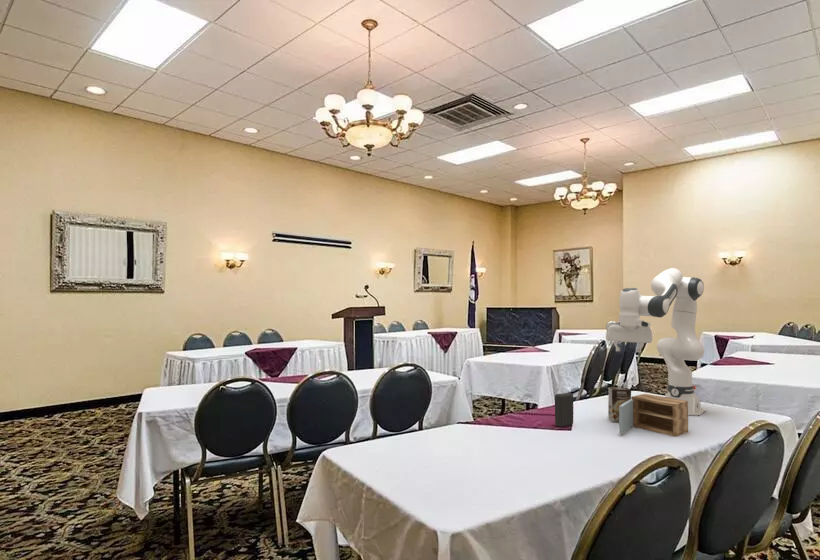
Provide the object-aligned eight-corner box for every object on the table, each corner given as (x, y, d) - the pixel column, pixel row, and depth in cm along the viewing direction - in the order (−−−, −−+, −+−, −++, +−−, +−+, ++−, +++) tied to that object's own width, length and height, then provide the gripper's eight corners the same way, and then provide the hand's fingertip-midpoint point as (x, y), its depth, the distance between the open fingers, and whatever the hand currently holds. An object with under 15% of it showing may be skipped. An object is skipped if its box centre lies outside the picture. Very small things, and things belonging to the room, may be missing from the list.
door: (633, 425, 230) (633, 399, 230) (622, 434, 215) (622, 406, 216) (631, 424, 231) (630, 398, 231) (619, 433, 216) (619, 406, 216)
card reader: (567, 423, 237) (567, 392, 237) (574, 425, 233) (574, 393, 234) (554, 425, 232) (553, 393, 233) (560, 427, 229) (560, 395, 229)
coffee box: (612, 422, 238) (611, 389, 239) (608, 419, 245) (607, 386, 245) (631, 423, 237) (631, 389, 238) (627, 419, 244) (626, 387, 244)
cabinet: (645, 422, 238) (644, 393, 238) (688, 432, 222) (687, 401, 222) (631, 426, 231) (631, 396, 231) (675, 436, 215) (674, 404, 215)
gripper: (608, 321, 228) (607, 351, 228) (654, 323, 227) (653, 353, 226) (604, 321, 235) (603, 350, 234) (648, 323, 233) (647, 352, 232)
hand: (628, 351), depth 230 cm, fingers open, 8 cm apart
